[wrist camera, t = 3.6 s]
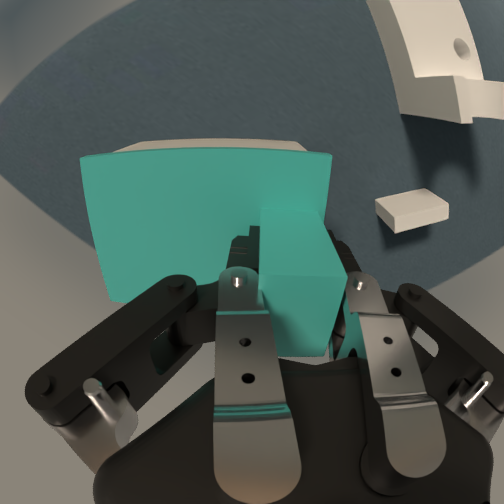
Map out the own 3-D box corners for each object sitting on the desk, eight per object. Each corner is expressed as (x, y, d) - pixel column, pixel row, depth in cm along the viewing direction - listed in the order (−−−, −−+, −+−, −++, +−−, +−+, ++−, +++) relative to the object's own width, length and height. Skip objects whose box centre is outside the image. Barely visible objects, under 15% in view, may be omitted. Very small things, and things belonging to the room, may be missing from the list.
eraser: (374, 198, 19) (394, 217, 16) (424, 187, 19) (449, 203, 15) (375, 213, 20) (395, 233, 17) (424, 201, 19) (448, 219, 16)
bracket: (462, 109, 15) (525, 123, 8) (398, 113, 16) (461, 123, 9) (420, -24, 9) (469, -49, 2) (348, -33, 10) (383, -77, 3)
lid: (328, 153, 11) (378, 191, 6) (305, 308, 15) (318, 391, 10) (86, 155, 11) (7, 193, 6) (114, 294, 15) (74, 361, 10)
